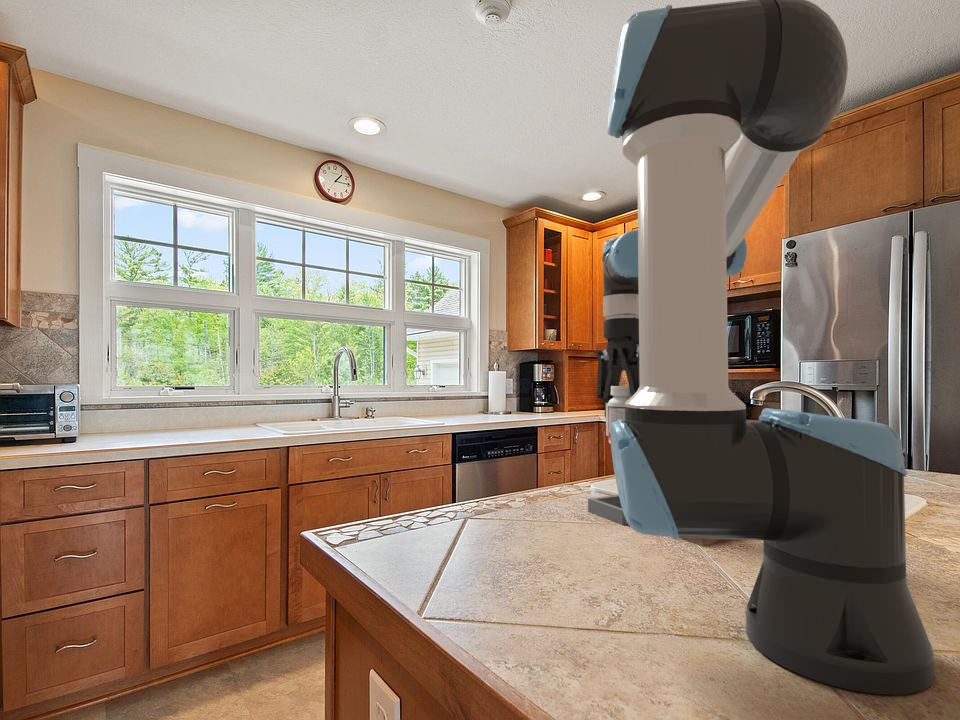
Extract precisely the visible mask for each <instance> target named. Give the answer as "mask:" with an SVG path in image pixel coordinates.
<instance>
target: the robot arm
mask: <svg viewBox="0 0 960 720" xmlns="http://www.w3.org/2000/svg"><path fill="white" fill-rule="evenodd" d="M617 47H618V48H617V52H616V59H615V64H614V65H615V66H614V72H613V78H612V84H611V85H612V86H611V92H610V99H609V100H610V101H609V108H608V116H607V117H608V118H607V131H606V132H607V134H608V136H611V137H614V138H616V139H620V138H621V137H622V139H621V140H622V143H621V148H622V154H623V156H624V157H625V158H626V159H627V160H628V161H629V162H630V163H632V164H633V165H634V166H635V167H636V171H637V172H636V174H637V176H636V177H637V178H636V179H637V182H636V183H637V186H636V187H637V190H636V191H637V229H634V230H630V231H627V232H626V231H625V233H622V235H620V236H616V237H612V238H610V239H607V240H606V241H605V242H604V243H603V248H602V257H601V259H602V271H603V272H602V273H603V274H602V276H603V277H602V278H603V280H602V281H603V299H602V305H603V307H602V309H603V310H602V316H603V318H605V320H604V321H603V338H604V339H605V340H607V344H606V347H605V349H603V350H597V351H596V357H597V362H598V363H597V379H596V381H597V382H596V383H597V384H596V397H597V399H598V400H602V402H603V403H604V418H605V435H606V436H607V437H609V436H608V402H609V401H610V400H611V399H612V398H613V395H611V386H620V382H621V378H622V373H623V371H625V374H626V380H627V383H628V386H629V388H630V392H631V398H630V399H629V400H628V401H627V402H626V403H625V421H624V420H623V419H618V420H617V421H615V422H613V423H612V424H611V427H610V434H611V444H610V449H611V450H610V451H611V456H612V458H611V459H612V463H613V464H612V465H613V471H614V477H615V484H616V487H617V492H618V493H617V495H619V498H620V503H621V507H622V510H623V513H624V516H625V519H626V521H627V523H628V524H627V525H628V526H629V527H630V528H631V529H632V530H633V531H635V532H636V533H638V534H641V535H647V536H658V537H668V538H669V537H671V539H672V540H673V539H674V540H679V539H680V538H679V537H682V538H709V539H734V540H739V541H743V540H744V541H763V559H762V563H761V565H760V569H759V571H758V574H757V577H756V579H755V581H754V584H753V588H752V590H751V594H750V596H749V599H748V602H747V604H746V608H745V609H746V610H745V632H746V635H747V638H748V640H749V641H750V643H751V644H752V645H753V646H754V647H755V648H756V649H757V650H758V651H759V652H760V653H761V654H763V655H764V656H766V657H767V658H769V659H770V660H771V661H773V662H775V663H776V664H778V665H780V666H782V667H783V668H786V669H788V670H790V671H792V672H794V673H796V674H799V675H801V676H803V677H806V678H808V679H812V680H814V681H818V682H820V683H823V684H826V685H830V686H834V687H837V688H841V689H844V690H845V689H846V690H850V691H856V692H859V693H860V692H861V693H867V694H876V695H892V696H893V695H895V696H896V695H909V694H913V693H914V694H915V693H918V692H919V693H920V692H922V691H924V690H925V689H928V688H930V686H931V685H932V684H933V682H934V681H935V664H934V663H935V661H934V660H935V659H934V656H935V655H934V654H935V653H934V650H933V647H932V645H931V642H930V639H929V636H928V635H927V631H926V629H925V627H924V624H923V621H922V619H921V616H920V613H919V611H918V609H917V606H916V604H915V601H914V600H913V597H912V595H911V592H910V589H909V586H908V583H907V580H908V579H907V552H906V551H907V549H906V548H907V547H906V509H905V508H906V505H905V504H906V502H905V499H906V497H905V477H907V474H908V472H907V470H906V467H905V459H904V453H903V446H902V445H903V444H902V439H901V437H900V435H899V433H898V432H897V431H896V430H895V429H894V428H892V427H891V426H889V425H887V424H884V423H881V422H875V421H868V420H861V419H854V418H847V417H842V416H841V417H840V416H833V415H825V414H820V413H819V414H817V413H810V412H805V411H803V412H802V411H795V410H786V409H779V408H778V409H777V408H770V407H766V408H763V409H762V411H761V414H760V415H759V416H758V420H759V422H757V421H756V422H755V421H754V422H751V421H750V422H748V421H747V406H746V404H745V403H744V401H742V400H741V399H740V398H739V397H738V396H736V395H735V393H733V392H732V391H731V389H730V387H729V349H728V348H729V346H728V345H729V342H728V339H729V338H728V335H729V334H728V330H729V329H728V286H727V285H728V281H727V279H728V277H734V276H737V275H739V274H740V273H741V272H742V270H743V269H744V266H745V262H746V259H747V249H748V247H747V246H748V245H747V241H746V238H745V237H746V236H747V234H748V232H749V231H750V229H751V228H752V226H753V225H754V223H755V222H756V220H757V219H758V217H759V216H760V214H761V213H762V211H763V209H764V208H765V206H766V205H767V204H768V202H769V200H770V199H771V197H772V195H774V193H775V191H776V190H777V188H778V187H779V185H780V184H781V182H782V180H783V179H784V177H785V175H786V174H787V173H788V172H789V170H790V168H791V166H792V165H793V163H794V162H795V161H796V159H797V157H798V156H799V154H800V152H802V151H805V150H807V149H809V148H810V147H812V146H813V145H815V144H816V143H817V142H818V141H819V140H820V139H821V137H823V134H824V133H825V132H826V130H827V129H828V127H829V126H830V124H831V123H832V122H833V120H834V118H835V116H836V115H837V112H838V110H839V108H840V105H841V103H842V100H843V98H844V95H845V91H846V85H847V78H848V69H849V68H848V67H849V66H848V55H847V49H846V45H845V40H844V38H843V36H842V33H841V32H840V29H839V27H838V26H837V24H836V22H835V21H834V19H832V17H831V16H830V15H829V14H828V13H827V12H826V11H824V10H823V9H822V8H821V7H820V6H818V5H817V4H816V3H813V2H811V1H809V0H737V1H728V2H720V3H718V2H717V3H710V4H709V3H708V4H699V5H692V6H691V5H690V6H683V7H673V5H672V4H671V5H670V4H668V5H666V6H665V7H663V8H655V9H648V10H643V11H637V12H636V13H634V14H633V15H630V17H628V19H627V20H626V21H625V23H624V24H623V27H622V29H621V33H620V38H619V42H618V46H617ZM726 154H727V155H726ZM682 538H681V539H682Z"/></svg>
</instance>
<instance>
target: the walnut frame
mask: <svg viewBox="0 0 960 720" xmlns="http://www.w3.org/2000/svg"><path fill="white" fill-rule="evenodd" d="M679 539H682V540H685V541H688V542H690V543H693V544H696V545H698V546H701V547H703V546H709V545H713V544H718V543H723V542H729V541H735V539H709V538H682V537H679Z"/></svg>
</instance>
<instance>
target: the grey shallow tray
mask: <svg viewBox="0 0 960 720" xmlns="http://www.w3.org/2000/svg"><path fill="white" fill-rule="evenodd" d="M587 512H589V513H591V514H594V515H597V516H600V517H602V518H605V519H607V520H610V521H612V522H614V523H618V524H620V525H629V524H628V523H627V521H626V519H625V516H624V513H623V510H622V507H621V503H620V498H619V494H614V495H606V496H599V497H590V498H587Z"/></svg>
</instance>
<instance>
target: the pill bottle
mask: <svg viewBox="0 0 960 720" xmlns="http://www.w3.org/2000/svg"><path fill="white" fill-rule="evenodd" d="M610 395H613V398H612V399H611V400H610V401H609V402H608V436H607V437H608V443H609V444H610V445H611V434H610V427H611V424H612V423H613V422H615V421H617V420H618V419H623V420H624V421H625V403H626V402H627V401H628V400H629V399H630V398H631V392H630V388H629V385H619V386H611V394H610Z"/></svg>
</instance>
